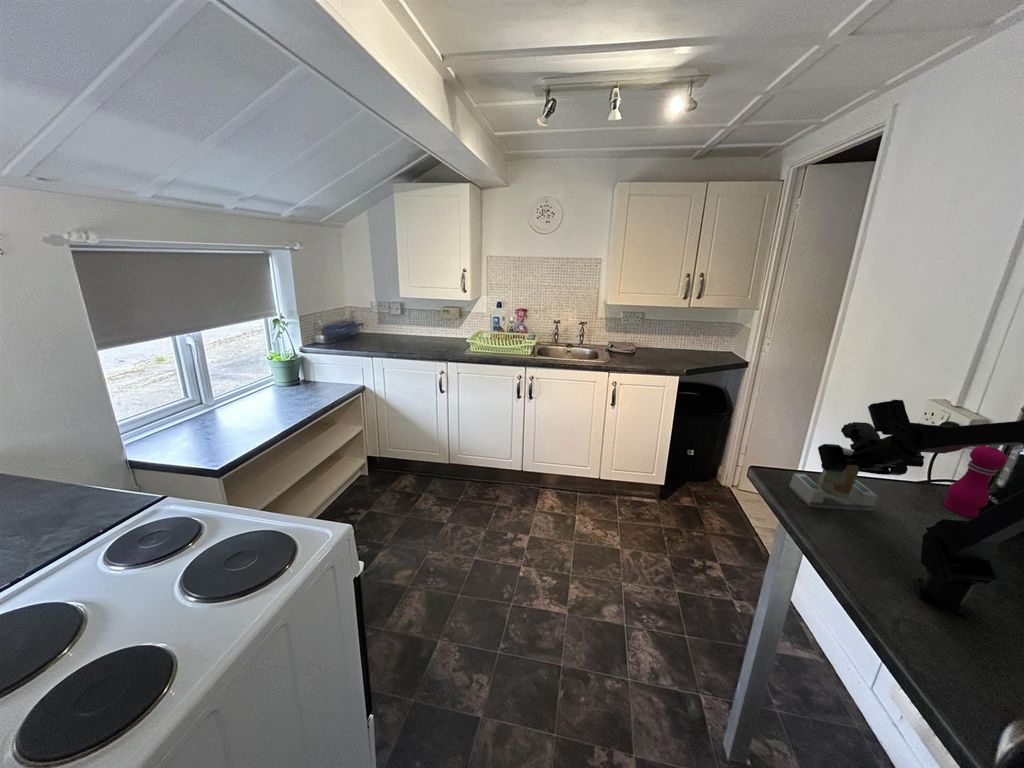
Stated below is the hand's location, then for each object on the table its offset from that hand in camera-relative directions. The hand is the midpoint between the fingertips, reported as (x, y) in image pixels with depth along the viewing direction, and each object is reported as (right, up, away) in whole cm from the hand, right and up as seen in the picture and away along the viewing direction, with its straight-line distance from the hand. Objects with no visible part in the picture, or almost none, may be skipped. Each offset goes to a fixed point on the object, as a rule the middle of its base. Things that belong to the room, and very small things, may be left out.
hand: (836, 467), depth 107 cm
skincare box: (0, -7, +1) cm, 7 cm away
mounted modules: (-1, -9, +2) cm, 9 cm away
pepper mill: (+33, -11, 0) cm, 34 cm away
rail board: (-1, -9, +2) cm, 9 cm away
